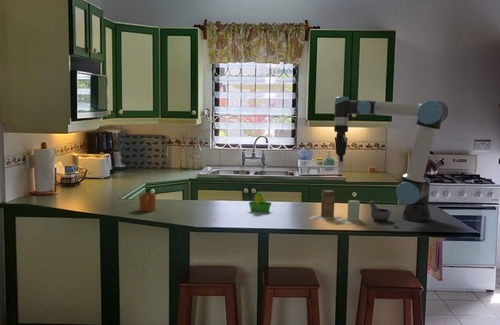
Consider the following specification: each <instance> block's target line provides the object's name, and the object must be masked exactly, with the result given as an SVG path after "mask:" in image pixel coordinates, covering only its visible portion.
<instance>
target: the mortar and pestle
mask: <svg viewBox="0 0 500 325" xmlns="http://www.w3.org/2000/svg"><path fill="white" fill-rule="evenodd" d="M368 204H369V205H370V208H371V209H370V215H371V218H372V219H373V221H375V222H379V223H380V222H381V223H385V222H387V221H388V220H389V218H390V216H391V212H392V211H391V210H389V209H387V208H378V207H377V205H376V203H375V200H373V199H372V200H370V201H369V202H368Z"/></svg>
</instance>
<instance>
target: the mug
mask: <svg viewBox="0 0 500 325" xmlns="http://www.w3.org/2000/svg"><path fill="white" fill-rule="evenodd" d="M138 199H139V201H138V202H139V203H138V204H139V206H138V208H139V212H148V213H149V212H154V211H156V194H155V193H151V192H146V193H144V192H143V193H140V194H139V196H138Z"/></svg>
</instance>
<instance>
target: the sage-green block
mask: <svg viewBox="0 0 500 325" xmlns="http://www.w3.org/2000/svg"><path fill="white" fill-rule="evenodd" d="M360 202H361V201H360V200H354V199H353V200H352V199H350V200H348V201H347V217H346V218H347V221H355V222H356V223H358V222H359V221H358V220H360V204H361V203H360ZM357 221H358V222H357Z"/></svg>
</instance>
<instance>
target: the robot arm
mask: <svg viewBox="0 0 500 325" xmlns="http://www.w3.org/2000/svg"><path fill="white" fill-rule="evenodd" d="M349 115H374V116H376V115H377V116H388V117H389V116H390V117H400V118H401V117H403V118H413V119H414V118H415V119H416V123H415V126H417V132H416V136H415V138H414V139H415V140H414V143H413V146H412V147H413V148H412V152H411V154H410V157H409V162H408V165H407V170H406V173H404V174H402V176H401V181H400V183H398V186H397V187H396V191H395V193H396V197H397V199H398V200H399V202H401V203H403V204H405V206H404V208H403V211H402V214H401V215H402V216H401V218H402V219H404V220H405V221H411V222H429V221H432V214H431V210H430V206H429V204H430V203H429V202H430V189H431V188H430V187H431V180H430V178H428V177H424V176H425V173H426V168H427V166H428V165H427V164H428V161H429V158H430V154H431V150H432V146H433V143H434V138H435V135H436V133H437V132H438V131H439V130H441V125H442V122H444V121H445V120H446V119H447V118H448V115H449V108H448V106H447V104H446V103H444V102H443V101H441V100H434V99H433V100H432V99H429V100H425V101H423V102H422V103H415V102H397V101H395V102H394V101H379V100H378V101H376V100H366V99H361V100H360V99H358V100H357V99H356V100H355V99H354V100H350V98H349V97H348V96H337V97H335V99H334V118H333V121H334V133H336V137H334V141H335V155H336V156H337V168H343V167H344V156H345V155H346V150H347V144H348V143H347V142H348V137H347V136H346V133H349V126H348V125H349Z"/></svg>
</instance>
